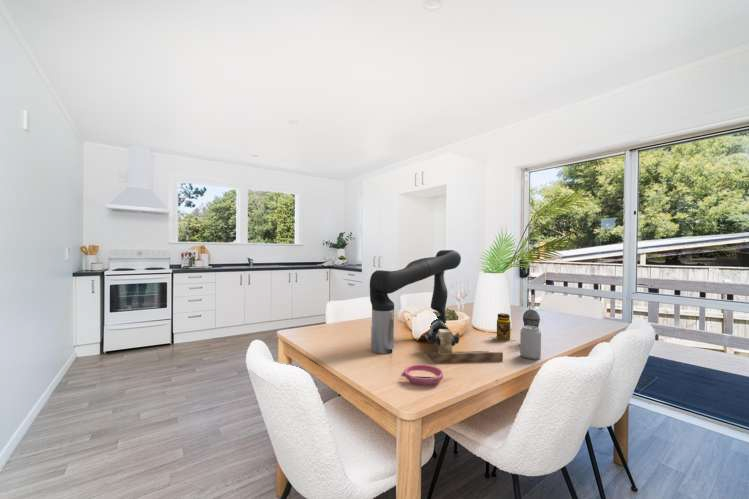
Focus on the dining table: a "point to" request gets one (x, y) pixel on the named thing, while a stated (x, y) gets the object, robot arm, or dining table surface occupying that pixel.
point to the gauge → (445, 341)
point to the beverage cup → (531, 317)
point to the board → (465, 356)
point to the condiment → (503, 328)
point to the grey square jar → (530, 342)
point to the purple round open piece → (423, 380)
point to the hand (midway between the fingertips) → (446, 343)
